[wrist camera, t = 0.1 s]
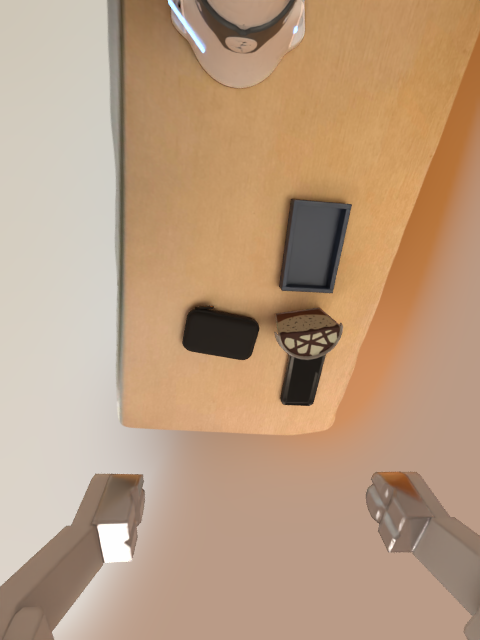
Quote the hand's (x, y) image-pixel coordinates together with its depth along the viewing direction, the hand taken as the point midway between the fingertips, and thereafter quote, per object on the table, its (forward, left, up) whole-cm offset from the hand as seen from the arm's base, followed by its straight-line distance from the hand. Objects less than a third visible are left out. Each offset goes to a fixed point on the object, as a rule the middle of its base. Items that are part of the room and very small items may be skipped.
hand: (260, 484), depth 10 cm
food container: (+15, +16, -48) cm, 53 cm away
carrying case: (+17, 0, -48) cm, 51 cm away
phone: (+28, +19, -48) cm, 59 cm away
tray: (-1, +16, -48) cm, 51 cm away
